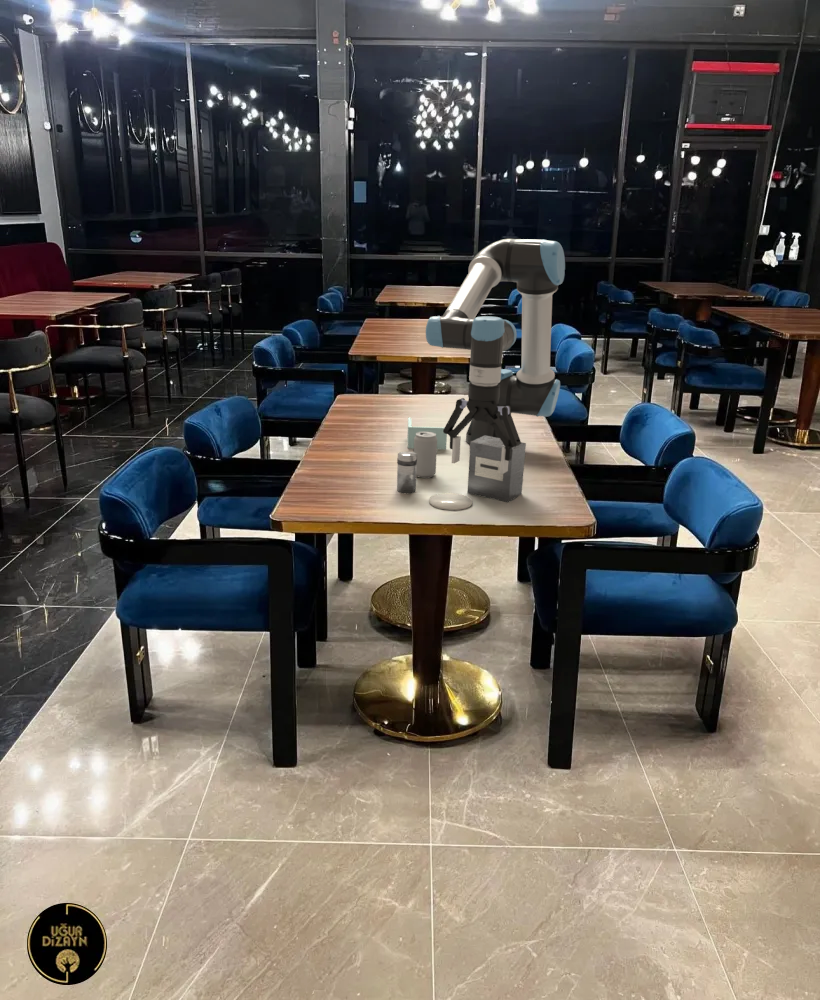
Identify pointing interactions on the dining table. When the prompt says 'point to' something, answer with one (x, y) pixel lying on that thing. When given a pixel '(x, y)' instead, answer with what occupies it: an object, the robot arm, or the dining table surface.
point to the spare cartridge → (406, 472)
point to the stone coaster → (450, 501)
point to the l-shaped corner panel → (437, 430)
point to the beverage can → (425, 453)
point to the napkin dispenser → (495, 470)
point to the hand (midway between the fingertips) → (479, 467)
